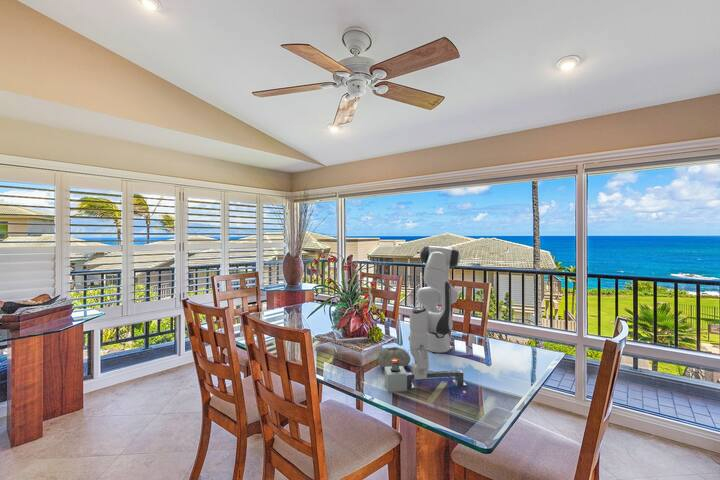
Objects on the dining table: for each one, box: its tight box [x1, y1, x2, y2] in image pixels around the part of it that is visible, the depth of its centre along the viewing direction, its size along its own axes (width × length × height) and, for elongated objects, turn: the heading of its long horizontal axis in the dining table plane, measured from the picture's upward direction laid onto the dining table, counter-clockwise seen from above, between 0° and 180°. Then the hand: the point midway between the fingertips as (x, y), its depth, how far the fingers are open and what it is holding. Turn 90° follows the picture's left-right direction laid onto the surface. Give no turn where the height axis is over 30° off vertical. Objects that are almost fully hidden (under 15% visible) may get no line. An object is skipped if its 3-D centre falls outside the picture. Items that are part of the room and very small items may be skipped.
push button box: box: [384, 366, 408, 393], centre depth 153 cm, size 9×9×8 cm
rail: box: [406, 369, 468, 390], centre depth 155 cm, size 6×30×6 cm, turn 94°
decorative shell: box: [377, 346, 411, 369], centre depth 177 cm, size 18×18×10 cm
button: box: [391, 358, 400, 372], centre depth 153 cm, size 4×4×7 cm
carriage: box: [411, 362, 428, 380], centre depth 154 cm, size 5×6×6 cm
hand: (419, 370), depth 154 cm, fingers open, 6 cm apart
